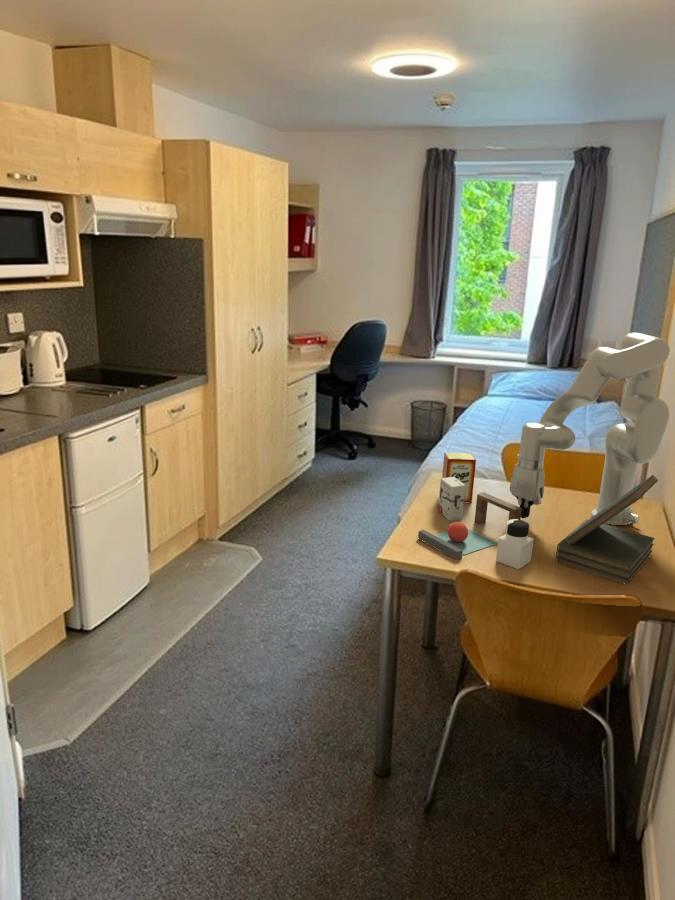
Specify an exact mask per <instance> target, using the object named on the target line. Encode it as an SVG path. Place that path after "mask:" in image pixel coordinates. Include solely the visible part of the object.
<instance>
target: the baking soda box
mask: <svg viewBox="0 0 675 900" xmlns="http://www.w3.org/2000/svg"><path fill="white" fill-rule="evenodd" d="M442 464H443V465H442V477H441V478H447V477H455V478H456V479H458V480H459V481H460V482H462V483H463V484H465V493H464V502H470V503H469V504H472V503H473V496H474V495H473V494H474V483H475V472H476V465H477V459H476V457H475V456H474V455H473V454H472V453H465V452H463V453H460V452H444V455H443V463H442Z"/></svg>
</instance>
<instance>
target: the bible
mask: <svg viewBox="0 0 675 900" xmlns="http://www.w3.org/2000/svg"><path fill="white" fill-rule="evenodd" d="M658 482H659V480H658V478H657V477H656V476H655V475H654V474H652V475H651V476H649V477H648V478H646V479H645V480H643V481H642V482H641V483H639V484H638V485H636V486H635V487H633V489H632V490H630V491H629V492H628V493H626V494H625V495H623V496H622V497H620V498H619V499H618V500H616V501H615V502H613V503H612V504H610V505H609V506H607V507H606V508H605V509H603V510H602V511H600V512H599V513H597V514H596V515H594V516H593V517H592V516H591V517H590V518H589V519H587V518H586V519H585V520H584V521H583V522H582V523H581V524H579V525H578V526H577V527H576V528H575V529H573V530H572V531H571V532H570V533H569V534H568V535H567V536H565V538H563V539H562V540H560V541H559V542H558V543H557V546H556V554H555V559H554V563H557V564H559V565H563V566H567V567H570V568H573V569H575V570H579V571H582V572H585V573H588V574H591V575H594V576H596V577H600V578H603V579H607V580H609V579H610V580H609V581H612V580H613V581H612V582H615V581H617V582H616V583H618V582H621V583H625V584H628V585H629V583H630V582H631V581H632V580H631V579H633V578H634V577H635V576H636V575H637V573H638V572H639V571H640V570H639V569H642V567H643V566H644V565H645V564H646V562H647V561H648V560H649V559H650V557H651V554H652V552H653V550H652V548H653V546H654V543H653V542H654V540H655V537H652V536H649V535H644V534H642V533H639V532H638V533H637V532H635V531H631V530H627V529H623V528H620V527H616V526H614V525H609V524H605V522H606V521H608V520H609V519H611V518H612V517H614V516H615V515H617V514H618V513H620V512H621V511H623V510H624V509H626V508H627V507H629V506H630V507H631V506H632V505H633V504H635V503H636V502H637V501H639V500H640V499H641V498H642V497H643V496H644V495H645V494H646V493H647V492H648V491H649V490H650V489H651V488H653V487H654V485H655V484H656V483H658ZM649 556H650V557H649ZM647 559H648V560H647ZM646 560H647V561H646ZM645 561H646V562H645ZM643 564H644V565H643ZM642 565H643V566H642ZM641 566H642V567H641ZM638 570H639V571H638ZM635 574H636V575H635ZM634 575H635V576H634ZM633 576H634V577H633ZM630 580H631V581H630ZM629 581H630V582H629ZM628 582H629V583H628ZM621 583H620V584H621Z"/></svg>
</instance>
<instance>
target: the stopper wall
mask: <svg viewBox="0 0 675 900" xmlns="http://www.w3.org/2000/svg"><path fill="white" fill-rule="evenodd" d="M417 535H418V536H417V539H418V538H419V539H421V540H423V541H425V542H426V543H425V542H424V543H425V544H427V543H428V544H430V545H432V546H434V547H435V548H434V547H433V548H434V549H436V548H437V549H436V550H438V549H439V550H441V551H442V552H441V551H440V552H441V553H443V552H444V553H443V554H445V553H446V554H445V555H447V554H448V555H450V556H452V557H453V559H454V558H455V559H454V560H456V559H458V560H461V559H462V558H463V554H462V552H463V550H461V549H459V548H457V547H456V546H454V545H452V544H450V543H448V542H446V541H444V540H442V539H440V538H438V537H437V536H435V535H436V534H433V533H431V532H429V531H427V530H425V529H421V530H419V531H418V534H417ZM419 539H418V540H419ZM421 540H420V541H421ZM423 541H422V542H423ZM428 544H427V545H428ZM430 545H429V546H430ZM432 546H431V547H432ZM439 550H438V551H439ZM448 555H447V556H448ZM450 556H449V557H450ZM452 557H451V558H452Z"/></svg>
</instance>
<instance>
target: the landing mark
mask: <svg viewBox="0 0 675 900" xmlns="http://www.w3.org/2000/svg"><path fill="white" fill-rule="evenodd" d="M467 529H468V536H467V538H466V539H465V540H464V541H463V542H459V543H457V542H454V541H452V540H451V539H450V538H449V536H448V530H447V531H443V532H440V533H437V534H435V535H436V536H438V538H440V539H442V540H444V541H446V542H448V543H450V544H452V545H454V546H456V547H457V548H459V549H461V550H463V552H462V556H463V555H464V556H466V555H468V554H471V553H474V552H478V551H480V550H484V549H487V548H489V547H492V546H495V545H498V541H497V542H496V541H494V540H492V539H490V538H488V537H487V536H484V535H482V534H480V533H478V532H476V531H474V530H473V529H469V528H468V527H467Z"/></svg>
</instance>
